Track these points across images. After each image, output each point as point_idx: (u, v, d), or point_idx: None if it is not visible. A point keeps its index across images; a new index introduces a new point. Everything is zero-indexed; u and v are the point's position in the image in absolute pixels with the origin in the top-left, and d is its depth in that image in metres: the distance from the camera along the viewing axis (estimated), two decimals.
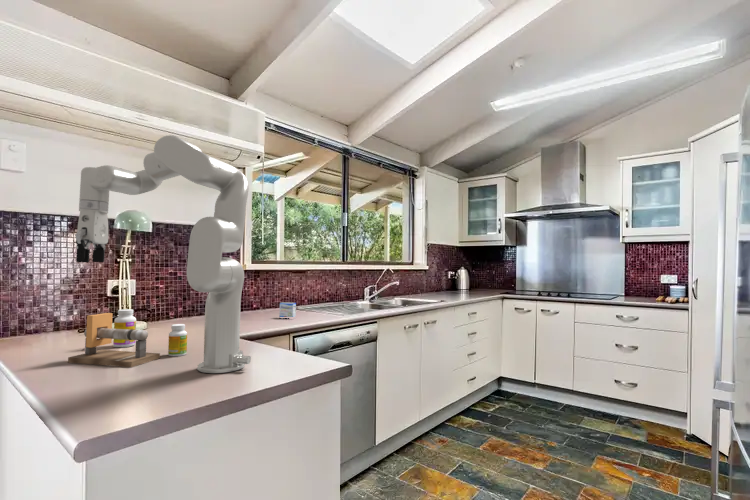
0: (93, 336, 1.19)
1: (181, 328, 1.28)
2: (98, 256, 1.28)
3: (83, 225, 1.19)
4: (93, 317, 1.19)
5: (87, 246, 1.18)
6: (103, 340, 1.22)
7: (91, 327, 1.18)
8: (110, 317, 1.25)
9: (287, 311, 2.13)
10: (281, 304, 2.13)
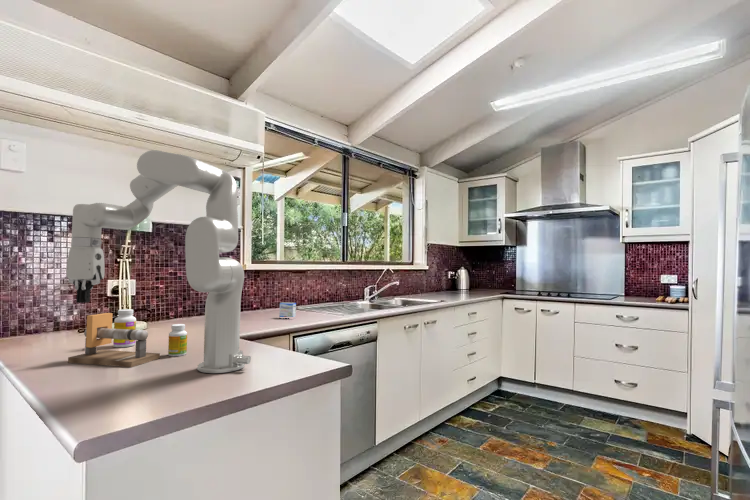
0: (93, 336, 1.19)
1: (181, 328, 1.28)
2: None
3: (97, 263, 1.22)
4: (93, 317, 1.19)
5: None
6: (103, 340, 1.22)
7: (91, 327, 1.18)
8: (110, 317, 1.25)
9: (287, 311, 2.13)
10: (281, 304, 2.13)
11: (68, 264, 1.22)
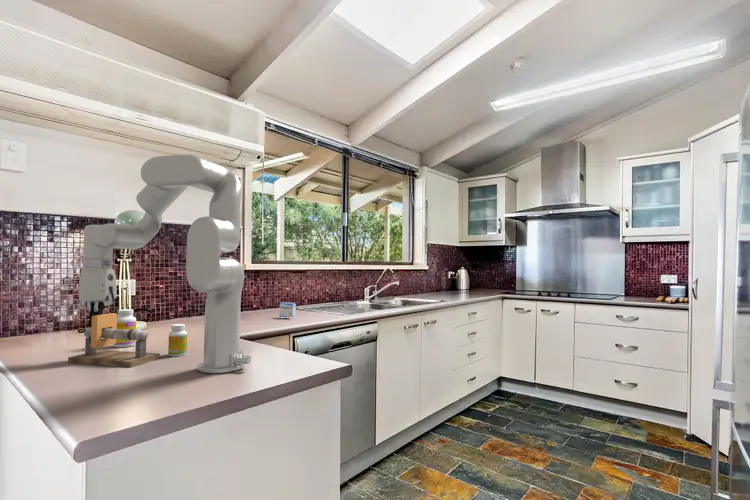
0: (98, 336, 1.18)
1: (181, 328, 1.28)
2: None
3: (109, 284, 1.21)
4: (98, 317, 1.18)
5: None
6: (108, 340, 1.22)
7: (96, 327, 1.18)
8: (115, 317, 1.24)
9: (287, 311, 2.13)
10: (281, 304, 2.13)
11: (80, 286, 1.21)
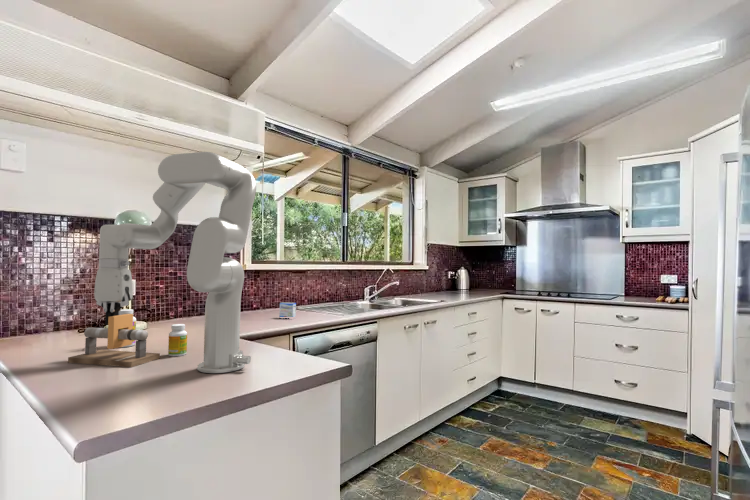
0: (114, 337, 1.17)
1: (181, 328, 1.28)
2: None
3: (125, 285, 1.20)
4: (114, 318, 1.17)
5: None
6: (124, 341, 1.21)
7: (113, 328, 1.17)
8: (131, 318, 1.23)
9: (287, 311, 2.13)
10: (281, 304, 2.13)
11: (96, 286, 1.20)
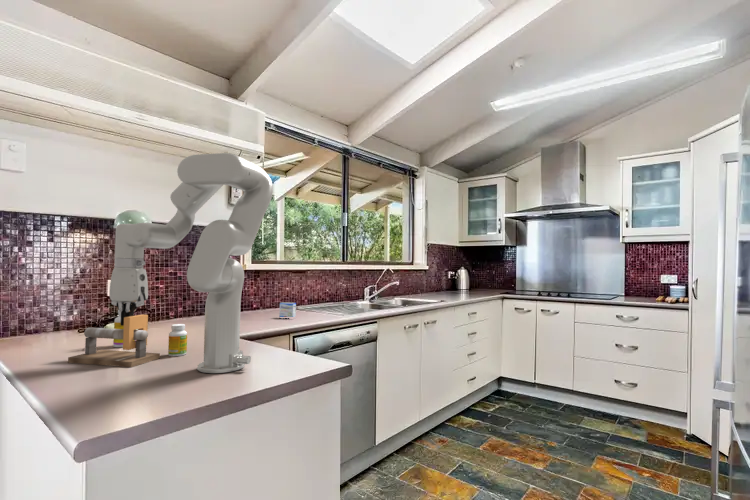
0: (130, 338, 1.16)
1: (181, 328, 1.28)
2: None
3: (141, 284, 1.19)
4: (130, 319, 1.16)
5: None
6: None
7: (129, 328, 1.16)
8: (146, 318, 1.22)
9: (287, 311, 2.13)
10: (281, 304, 2.13)
11: (111, 286, 1.19)
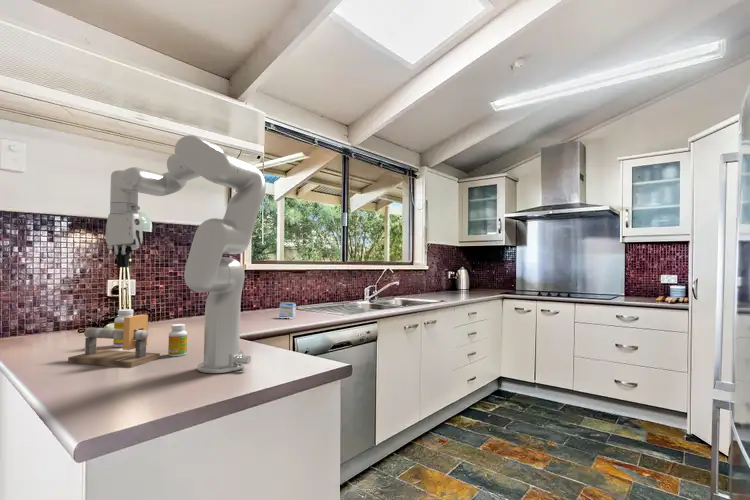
0: (130, 338, 1.16)
1: (181, 328, 1.28)
2: None
3: (136, 228, 1.25)
4: (130, 319, 1.16)
5: None
6: None
7: (129, 328, 1.16)
8: (146, 318, 1.22)
9: (287, 311, 2.13)
10: (281, 304, 2.13)
11: (107, 230, 1.25)
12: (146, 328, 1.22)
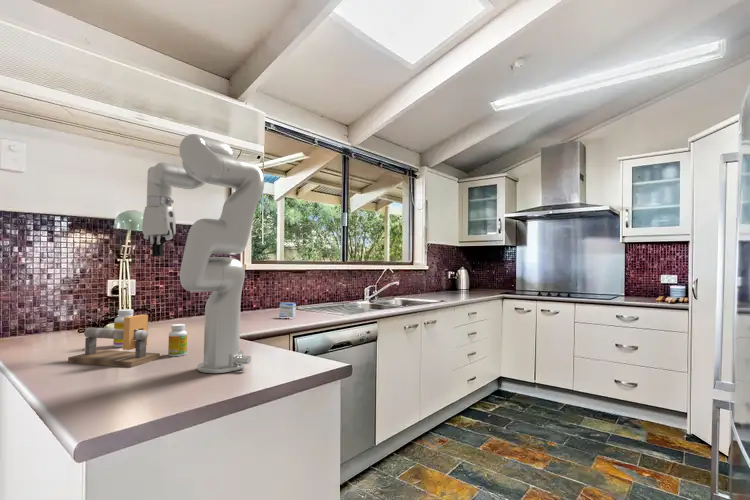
0: (130, 338, 1.16)
1: (181, 328, 1.28)
2: None
3: (170, 220, 1.35)
4: (130, 319, 1.16)
5: None
6: None
7: (129, 328, 1.16)
8: (146, 318, 1.22)
9: (287, 311, 2.13)
10: (281, 304, 2.13)
11: (144, 221, 1.35)
12: (146, 328, 1.22)
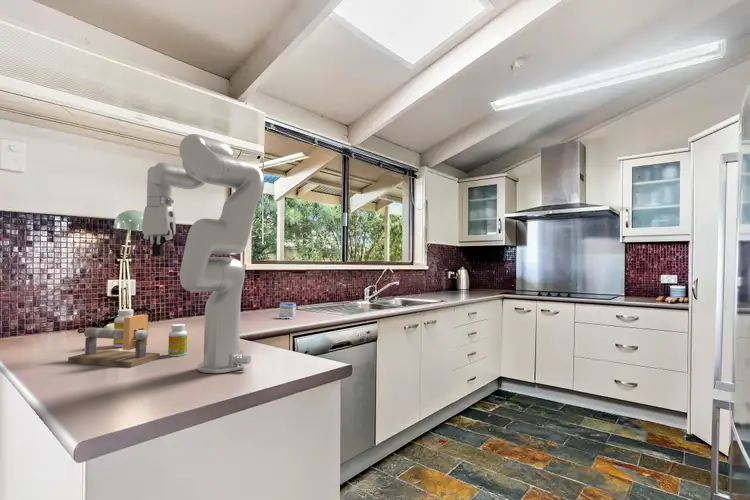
0: (130, 338, 1.16)
1: (181, 328, 1.28)
2: None
3: (170, 220, 1.35)
4: (130, 319, 1.16)
5: None
6: None
7: (129, 328, 1.16)
8: (146, 318, 1.22)
9: (287, 311, 2.13)
10: (281, 304, 2.13)
11: (144, 221, 1.35)
12: (146, 328, 1.22)
